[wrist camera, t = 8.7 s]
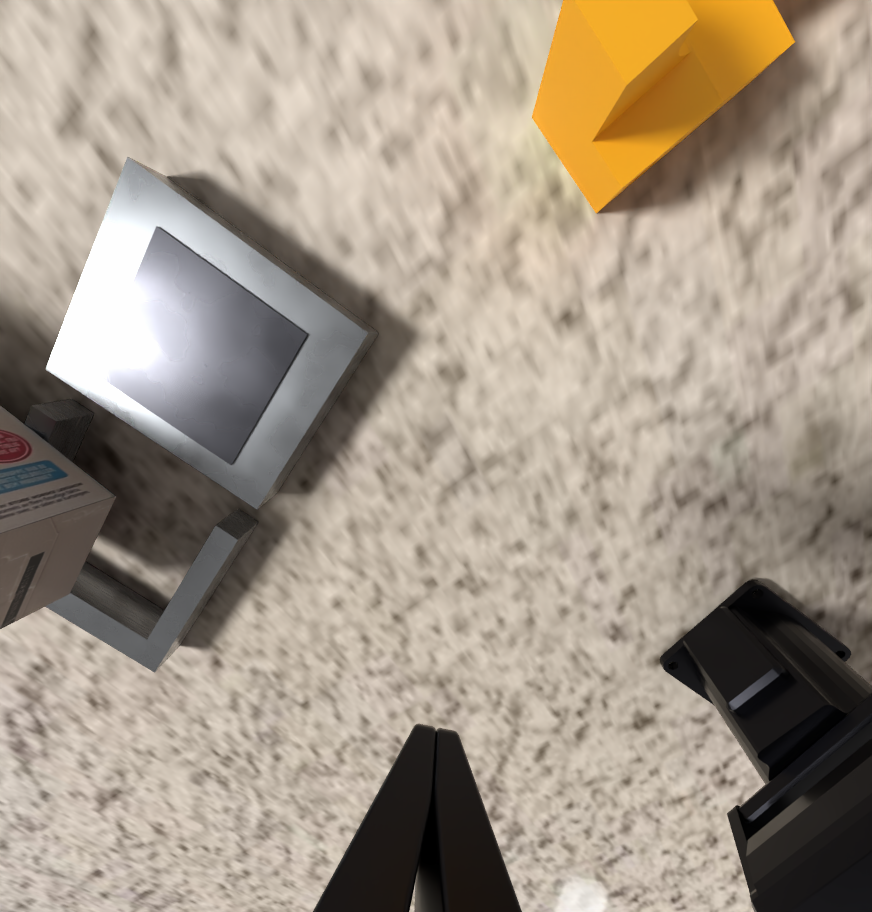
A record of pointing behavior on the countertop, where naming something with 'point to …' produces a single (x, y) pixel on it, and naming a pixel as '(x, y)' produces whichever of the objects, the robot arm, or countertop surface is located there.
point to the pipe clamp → (645, 80)
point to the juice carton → (42, 520)
